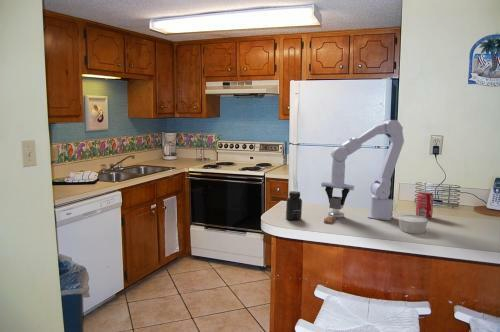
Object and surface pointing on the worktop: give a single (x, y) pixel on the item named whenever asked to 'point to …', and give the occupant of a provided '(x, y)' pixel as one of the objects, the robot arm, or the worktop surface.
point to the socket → (336, 202)
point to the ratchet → (333, 216)
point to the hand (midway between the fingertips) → (336, 204)
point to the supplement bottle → (294, 206)
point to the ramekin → (412, 224)
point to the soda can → (424, 204)
